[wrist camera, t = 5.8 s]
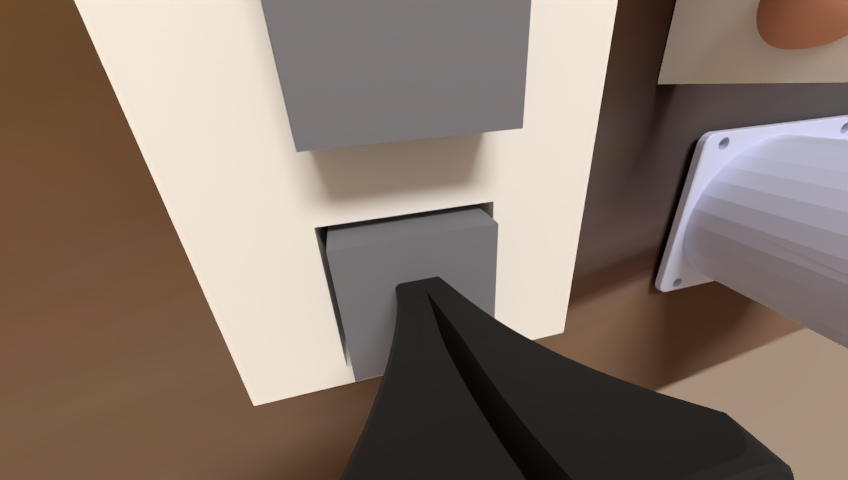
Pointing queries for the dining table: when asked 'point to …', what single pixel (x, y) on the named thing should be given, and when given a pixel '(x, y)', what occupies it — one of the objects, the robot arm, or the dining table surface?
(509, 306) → the button board
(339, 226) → the button cup side
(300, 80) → the button middle
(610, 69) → the dining table surface
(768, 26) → the card
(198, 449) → the dining table surface
